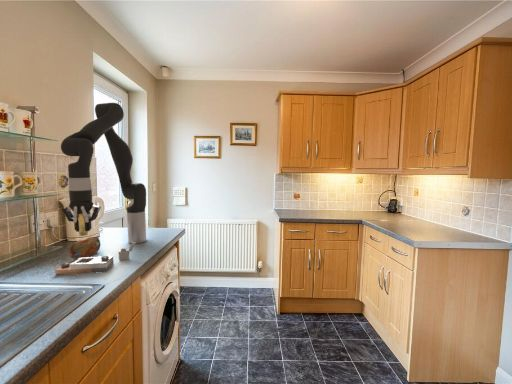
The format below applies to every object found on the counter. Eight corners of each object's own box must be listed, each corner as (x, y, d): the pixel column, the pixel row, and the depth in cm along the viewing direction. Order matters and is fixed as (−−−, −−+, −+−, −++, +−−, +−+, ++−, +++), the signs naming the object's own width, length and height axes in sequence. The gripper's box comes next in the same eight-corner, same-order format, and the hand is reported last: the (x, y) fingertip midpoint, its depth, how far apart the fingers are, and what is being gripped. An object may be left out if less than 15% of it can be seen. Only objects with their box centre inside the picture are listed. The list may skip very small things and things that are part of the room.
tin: (74, 262, 112) (73, 244, 111) (68, 261, 112) (67, 243, 111) (101, 251, 126) (100, 234, 125) (96, 250, 127) (95, 234, 126)
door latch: (66, 267, 106) (66, 255, 106) (113, 264, 109) (113, 253, 109) (55, 275, 99) (54, 262, 98) (106, 272, 102) (105, 260, 101)
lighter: (118, 260, 114) (117, 243, 113) (119, 259, 116) (118, 242, 115) (135, 259, 116) (135, 242, 115) (136, 257, 118) (135, 241, 117)
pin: (81, 234, 104) (80, 212, 103) (89, 233, 104) (87, 212, 103) (77, 236, 101) (75, 213, 100) (85, 235, 101) (84, 213, 100)
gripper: (103, 188, 105) (105, 228, 107) (66, 188, 103) (69, 229, 105) (95, 189, 98) (97, 233, 100) (55, 190, 96) (58, 234, 97)
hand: (83, 230), depth 102 cm, fingers closed on pin, 3 cm apart
